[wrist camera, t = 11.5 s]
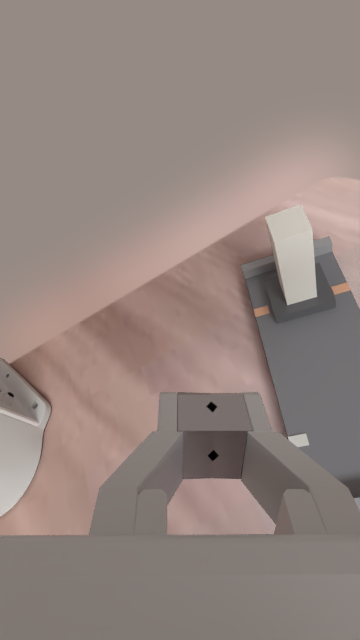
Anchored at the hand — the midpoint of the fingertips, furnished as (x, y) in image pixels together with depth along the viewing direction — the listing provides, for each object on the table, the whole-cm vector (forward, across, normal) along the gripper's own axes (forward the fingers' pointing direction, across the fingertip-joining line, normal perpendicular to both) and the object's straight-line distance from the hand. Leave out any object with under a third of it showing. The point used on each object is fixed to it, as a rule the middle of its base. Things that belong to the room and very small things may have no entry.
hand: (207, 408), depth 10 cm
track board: (+20, -14, +13) cm, 28 cm away
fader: (+26, -12, +7) cm, 30 cm away
